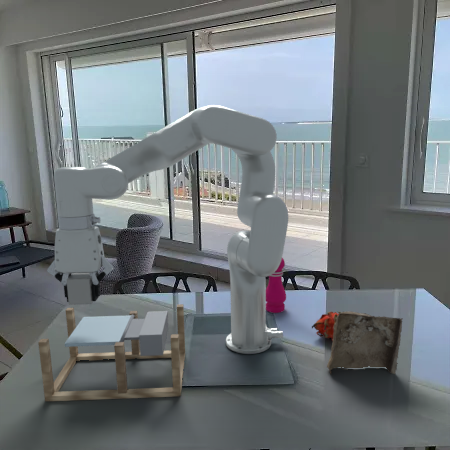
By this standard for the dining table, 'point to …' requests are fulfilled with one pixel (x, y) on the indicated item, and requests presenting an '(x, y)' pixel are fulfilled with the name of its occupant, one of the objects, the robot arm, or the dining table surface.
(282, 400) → the dining table surface
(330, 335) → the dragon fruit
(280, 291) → the pepper mill
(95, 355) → the frame
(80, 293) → the light grey block
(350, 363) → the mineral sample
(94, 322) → the trapdoor
